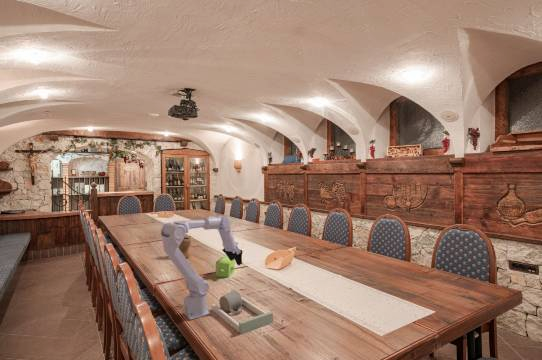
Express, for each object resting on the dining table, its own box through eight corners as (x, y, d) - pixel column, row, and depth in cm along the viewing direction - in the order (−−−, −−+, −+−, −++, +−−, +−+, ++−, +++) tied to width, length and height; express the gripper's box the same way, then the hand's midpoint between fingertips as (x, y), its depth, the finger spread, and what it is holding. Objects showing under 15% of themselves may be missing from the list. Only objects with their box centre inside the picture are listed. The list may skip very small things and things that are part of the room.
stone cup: (194, 257, 232) (193, 237, 232) (179, 260, 224) (178, 240, 224) (184, 253, 243) (183, 234, 243) (169, 256, 235) (169, 237, 235)
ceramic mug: (218, 309, 143) (218, 293, 142) (232, 304, 149) (232, 288, 148) (232, 317, 135) (232, 300, 135) (247, 311, 141) (246, 294, 141)
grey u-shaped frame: (241, 334, 121) (240, 323, 121) (211, 309, 143) (211, 301, 143) (273, 322, 130) (272, 312, 130) (240, 301, 152) (240, 293, 152)
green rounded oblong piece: (228, 281, 181) (228, 265, 180) (212, 279, 183) (212, 264, 182) (238, 271, 199) (238, 256, 198) (223, 269, 201) (223, 255, 200)
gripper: (242, 238, 147) (250, 262, 151) (227, 231, 159) (235, 253, 163) (229, 245, 144) (238, 269, 148) (215, 238, 155) (224, 261, 159)
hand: (236, 262), depth 155 cm, fingers open, 7 cm apart
